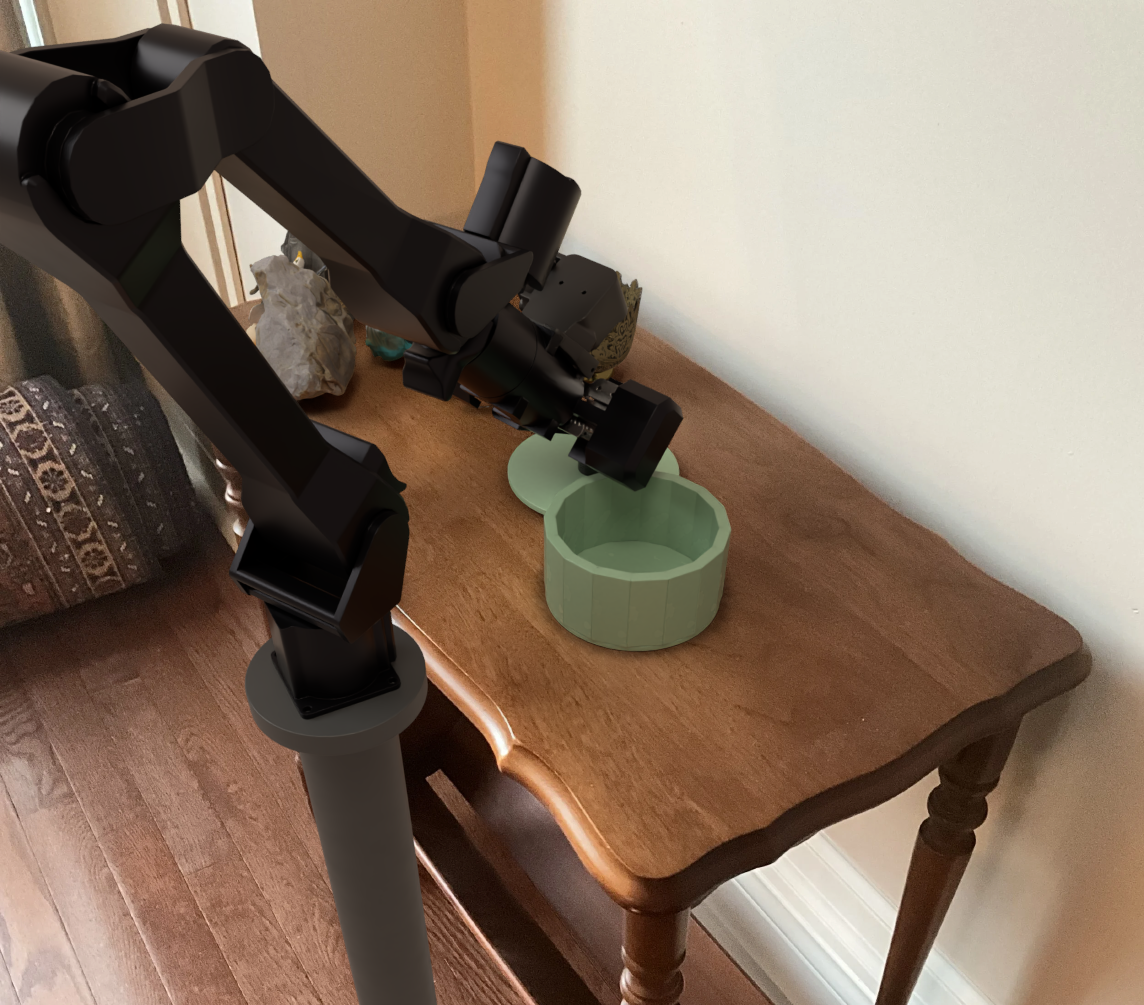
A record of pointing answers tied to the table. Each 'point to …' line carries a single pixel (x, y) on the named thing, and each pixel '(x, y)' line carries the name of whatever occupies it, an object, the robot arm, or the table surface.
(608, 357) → the cup
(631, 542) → the pot
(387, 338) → the figurine
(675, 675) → the table surface
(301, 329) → the stone
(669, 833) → the table surface
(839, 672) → the table surface
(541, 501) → the lid
